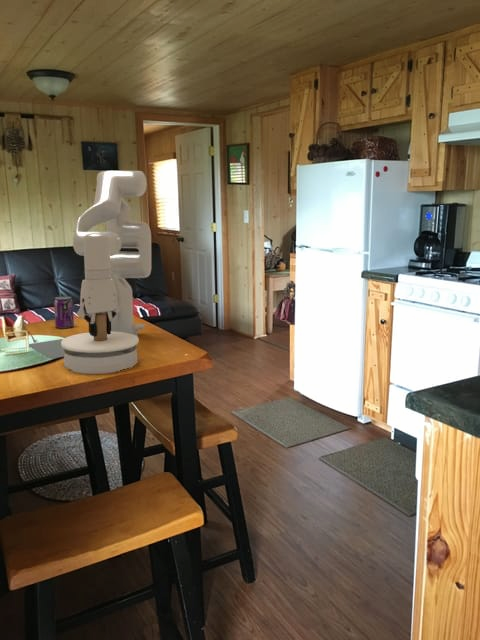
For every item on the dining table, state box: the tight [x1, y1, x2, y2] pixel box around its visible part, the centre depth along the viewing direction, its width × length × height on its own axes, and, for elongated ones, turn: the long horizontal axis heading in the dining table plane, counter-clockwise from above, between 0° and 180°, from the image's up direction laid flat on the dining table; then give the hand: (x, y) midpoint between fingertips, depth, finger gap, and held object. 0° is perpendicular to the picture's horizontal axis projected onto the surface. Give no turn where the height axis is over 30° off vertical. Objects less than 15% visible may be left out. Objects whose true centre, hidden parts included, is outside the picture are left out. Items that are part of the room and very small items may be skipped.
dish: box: [63, 345, 138, 375], centre depth 168 cm, size 22×22×5 cm
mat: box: [28, 338, 64, 360], centre depth 187 cm, size 23×23×1 cm
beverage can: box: [53, 296, 75, 329], centre depth 218 cm, size 7×7×12 cm
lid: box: [61, 312, 140, 353], centre depth 166 cm, size 23×23×9 cm
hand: (100, 334), depth 167 cm, fingers closed on lid, 4 cm apart
